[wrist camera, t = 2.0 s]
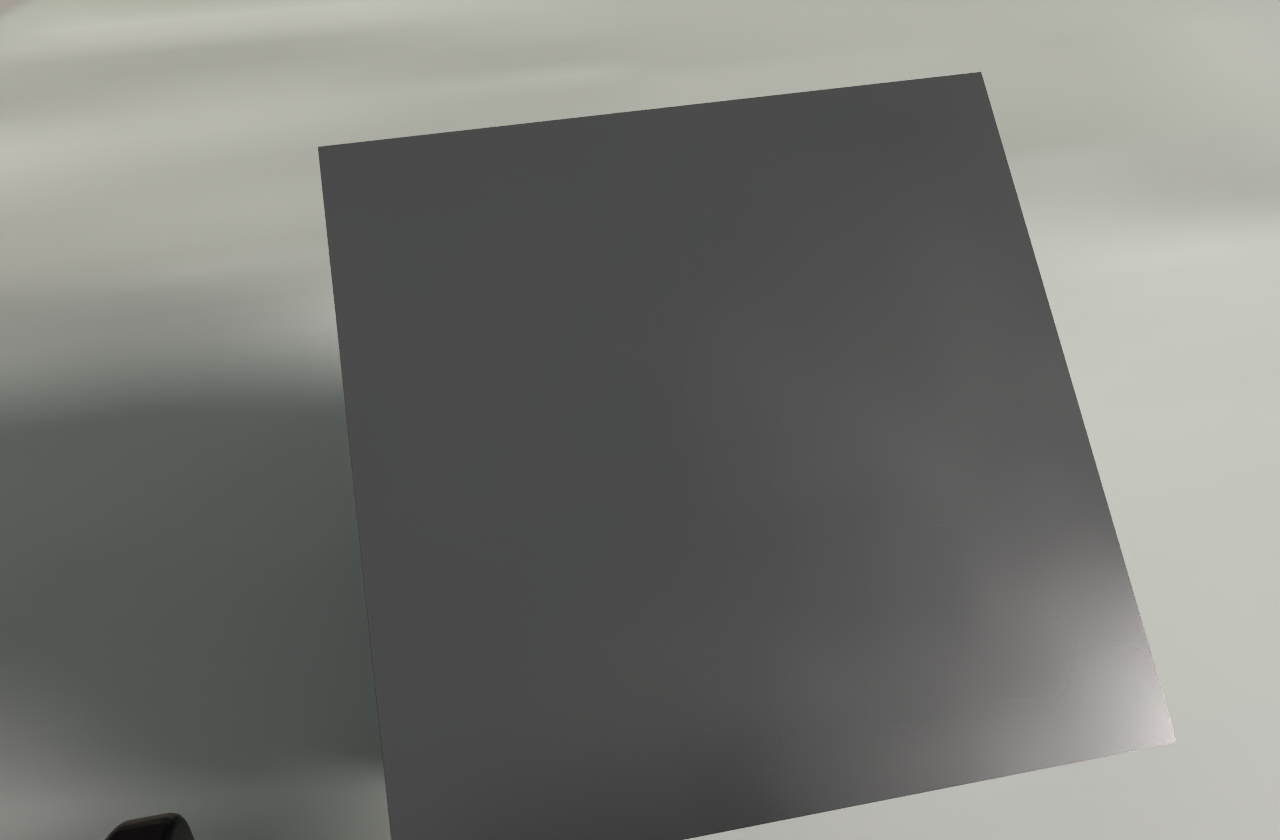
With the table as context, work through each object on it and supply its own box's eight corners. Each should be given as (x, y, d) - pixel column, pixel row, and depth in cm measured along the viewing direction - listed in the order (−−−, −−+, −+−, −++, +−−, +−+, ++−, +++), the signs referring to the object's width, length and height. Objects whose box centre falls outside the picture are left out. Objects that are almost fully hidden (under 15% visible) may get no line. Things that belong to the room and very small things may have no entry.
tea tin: (827, 728, 18) (1176, 742, 8) (490, 790, 17) (398, 896, 7) (759, 409, 19) (980, 72, 9) (447, 455, 19) (318, 146, 9)
